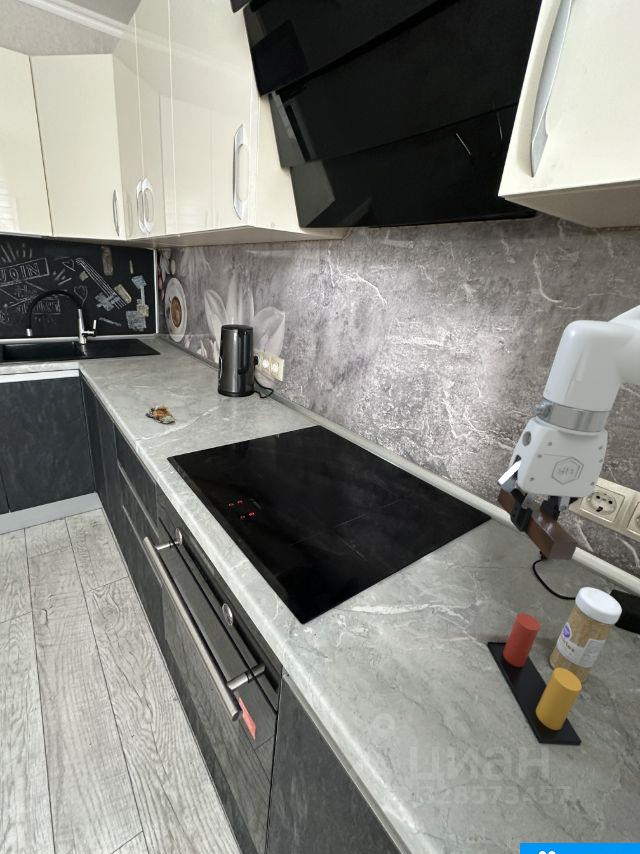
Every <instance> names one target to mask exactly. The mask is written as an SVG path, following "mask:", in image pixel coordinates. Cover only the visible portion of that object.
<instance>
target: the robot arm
mask: <svg viewBox="0 0 640 854" xmlns="http://www.w3.org/2000/svg"><path fill="white" fill-rule="evenodd" d="M622 384H623V385H624V384H630V385H636V386H640V304H639V305H636V306H635V307H633V308H630V309H629V310H627V311H625V312H623V313H621V314H618V315H617V316H615V317H614V318H612V319H610V320H608V321H602V320H593V319H592V320H590V319H589V320H588V319H581V320H574V321H572V322H570V323H569V324H567V326H566V327H565V329H564V330H563V333H562V334H561V338H560V341H559V343H558V347H557V350H556V353H555V356H554V359H553V362H552V365H551V369H550V372H549V375H548V378H547V380H546V384H545V386H544V390H543V393H542V396H541V398H540V401H539V403H537V404H536V403H533V404H531V406H530V413H531V414H532V415H535V417H532V416H531V418H530V419H529V420H528V422H527V423H526V425H525V427H524V429H523V430H522V433H521V435H520V437H519V439H518V440H517V443H516V445H515V448H514V450H513V453H512V456H511V458H510V461H509V464H508V468H507V470H506V472H505V473H503V474H502V475H501V476H500V477H499V479H497V481H496V484H497V485H498V486H499V487H500V489H501V488H502V489H503V490H505V491H506V492H508V493H510V494H511V495H512V497H513V498H514V499H515V503H514V506H513V509H512V512H511V515H509V520H510V522H511V523H512V524H513V525H514V527H515V528H516V529H517V530H518V531H519V532H520V533H525V531H526V529H527V526H528V523H529V520H530V517H531V515H532V513H533V511H532V509H531V508H530V506H531V504H532V502H533V500H535V498H536V496H537V495H538V496H547V499H543V500H542V501H541V502H540V503H541V504H540V506H541V507H542V508H543V509H544V510H545V511H546V512H547V513H548V514H549V515H550V516H551V517H552V518H553V519H554V520H555V521H556V522H558V521H559V517H560V515H561V513H562V512H566V511H567V510H568V509H569V506H570V505H572V504H574V503H575V502H577V501H579V499H583V498H585V497H589V496H591V495H593V494H594V490H595V488H596V485H597V484H598V480H599V479H600V474H601V472H602V469H603V465H604V461H605V458H606V453H607V447H608V440H609V439H608V437H609V432H608V430H607V429H605V425H606V423H607V421H608V418H609V415H610V413H611V411H612V409H613V405H614V404H615V401H616V398H617V395H618V393H619V390H620V388H621V386H622ZM516 482H517V484H516V485H515V483H516ZM525 492H526V493H525ZM524 493H525V495H524Z"/></svg>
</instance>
